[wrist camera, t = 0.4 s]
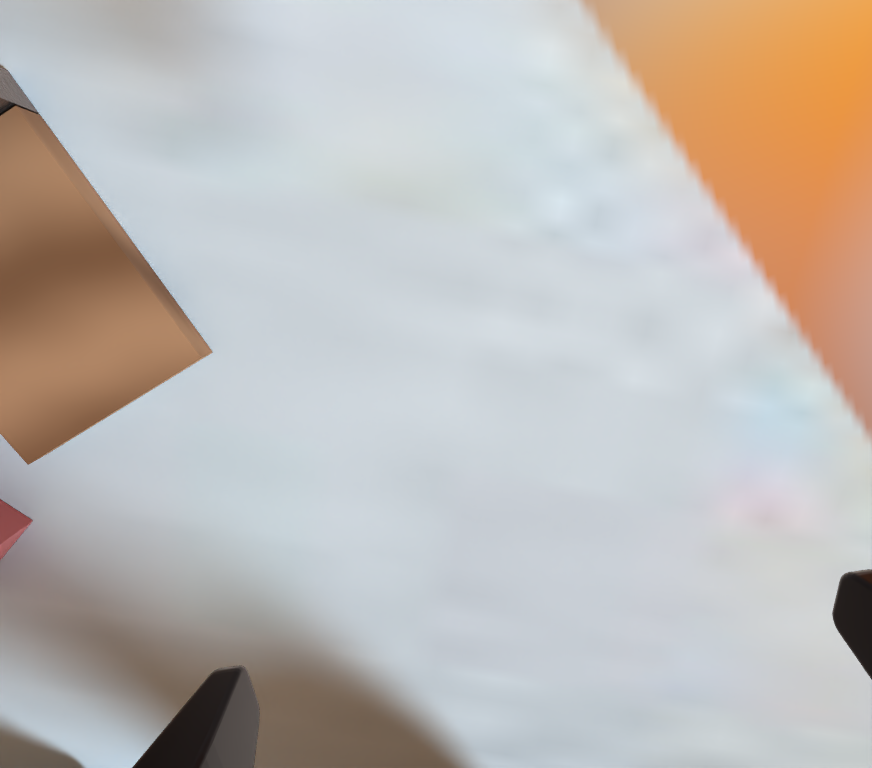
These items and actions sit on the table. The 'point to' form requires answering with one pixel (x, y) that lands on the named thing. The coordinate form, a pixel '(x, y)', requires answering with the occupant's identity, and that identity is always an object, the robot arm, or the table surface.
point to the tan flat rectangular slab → (73, 300)
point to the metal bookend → (12, 94)
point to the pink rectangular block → (11, 526)
